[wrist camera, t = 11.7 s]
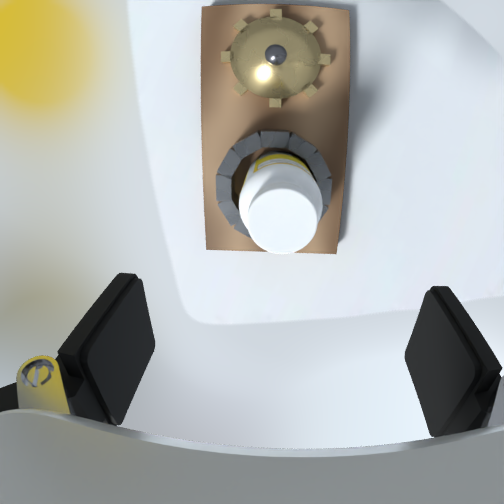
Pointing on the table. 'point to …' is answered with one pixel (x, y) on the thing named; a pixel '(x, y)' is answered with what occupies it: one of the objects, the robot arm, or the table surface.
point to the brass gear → (275, 57)
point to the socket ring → (253, 143)
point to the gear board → (273, 114)
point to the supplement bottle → (280, 203)
